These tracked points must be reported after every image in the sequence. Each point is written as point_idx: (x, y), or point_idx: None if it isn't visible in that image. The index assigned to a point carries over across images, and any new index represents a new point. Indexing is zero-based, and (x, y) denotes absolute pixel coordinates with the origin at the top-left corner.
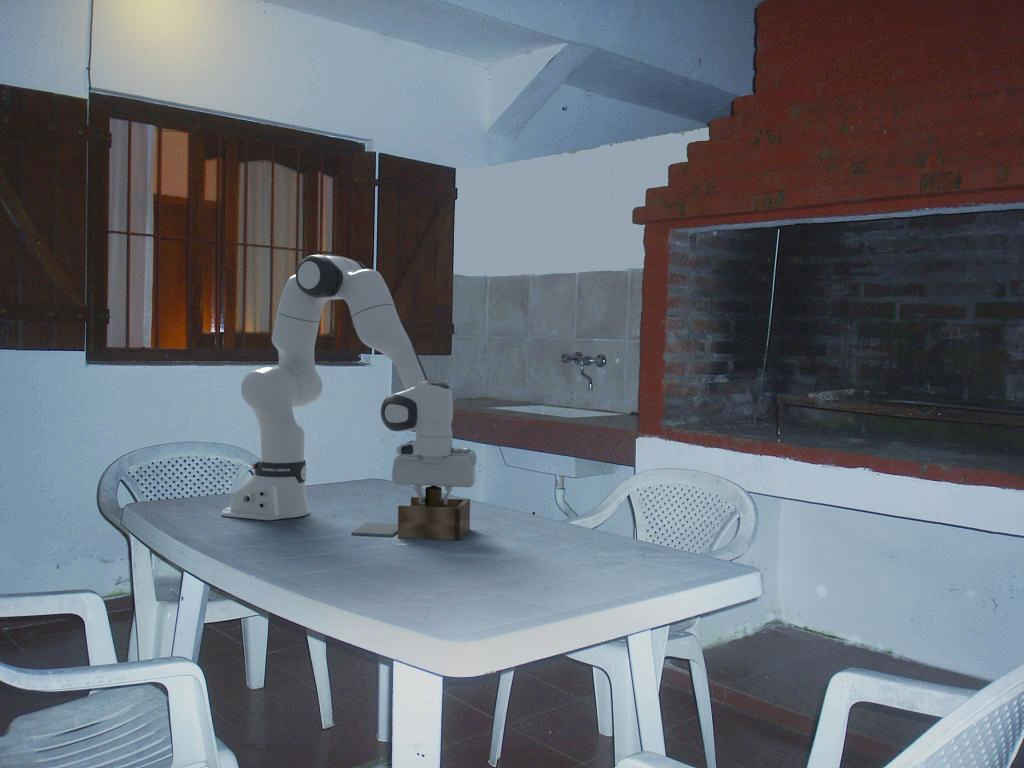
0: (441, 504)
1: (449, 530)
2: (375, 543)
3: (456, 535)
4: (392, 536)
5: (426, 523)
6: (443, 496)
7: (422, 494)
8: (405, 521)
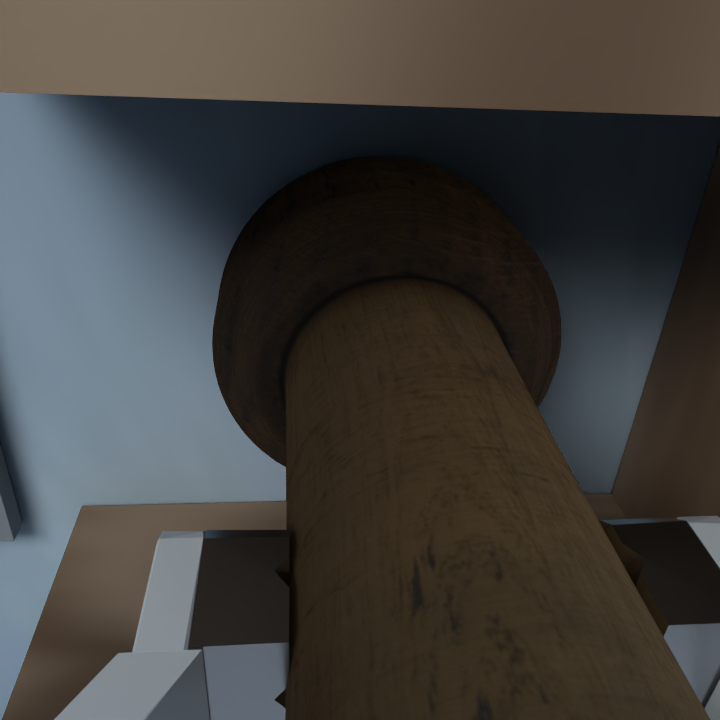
0: None
1: None
2: (4, 699)
3: None
4: (19, 515)
5: None
6: (704, 627)
7: (184, 710)
8: None
